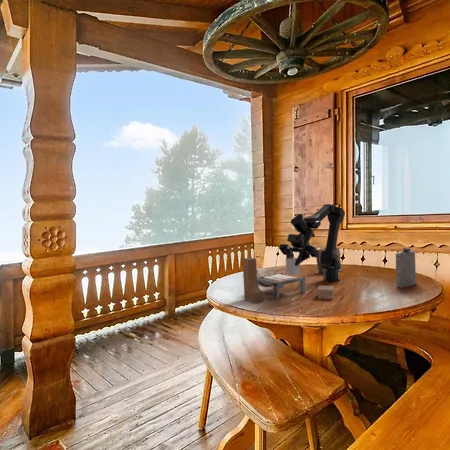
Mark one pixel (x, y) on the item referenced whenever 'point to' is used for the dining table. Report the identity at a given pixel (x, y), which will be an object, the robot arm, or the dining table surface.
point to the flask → (405, 268)
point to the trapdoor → (277, 278)
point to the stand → (325, 292)
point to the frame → (282, 283)
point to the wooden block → (251, 281)
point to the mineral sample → (319, 268)
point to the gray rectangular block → (292, 266)
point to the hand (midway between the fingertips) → (291, 265)
